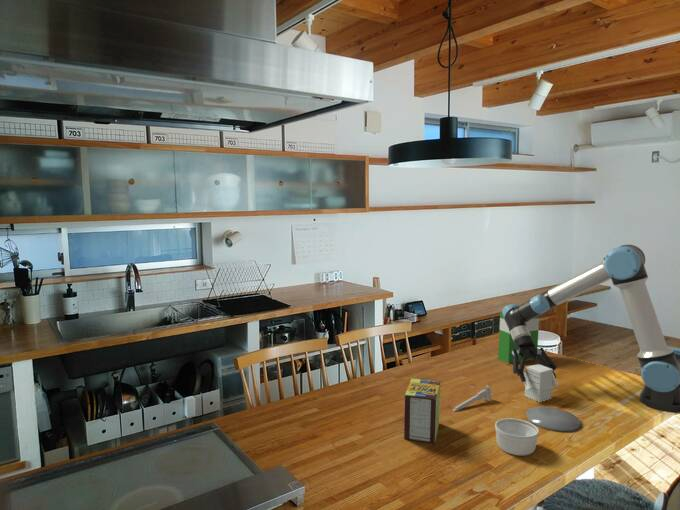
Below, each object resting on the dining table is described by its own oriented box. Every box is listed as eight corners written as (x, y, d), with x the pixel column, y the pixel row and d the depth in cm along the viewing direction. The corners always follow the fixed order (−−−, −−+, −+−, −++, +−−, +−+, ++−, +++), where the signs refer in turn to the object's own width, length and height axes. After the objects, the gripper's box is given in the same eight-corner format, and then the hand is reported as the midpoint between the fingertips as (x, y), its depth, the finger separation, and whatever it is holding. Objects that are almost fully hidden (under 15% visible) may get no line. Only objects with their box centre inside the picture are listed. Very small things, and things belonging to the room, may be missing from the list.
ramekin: (503, 433, 166) (504, 414, 165) (543, 446, 158) (544, 425, 157) (487, 448, 156) (488, 428, 155) (529, 463, 147) (530, 441, 147)
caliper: (488, 399, 194) (489, 384, 194) (490, 400, 193) (491, 385, 193) (452, 411, 183) (452, 395, 182) (454, 412, 182) (454, 396, 182)
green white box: (526, 355, 249) (528, 309, 246) (536, 359, 242) (539, 312, 240) (498, 358, 243) (500, 311, 240) (508, 363, 236) (510, 315, 233)
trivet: (585, 418, 178) (585, 415, 178) (573, 437, 164) (573, 434, 163) (534, 405, 189) (534, 402, 188) (519, 421, 174) (519, 419, 174)
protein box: (439, 423, 173) (440, 381, 171) (435, 444, 158) (436, 398, 157) (410, 419, 176) (411, 377, 174) (403, 439, 161) (404, 394, 159)
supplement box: (536, 393, 200) (538, 363, 199) (551, 399, 194) (553, 369, 193) (523, 396, 197) (525, 366, 196) (539, 403, 191) (540, 372, 189)
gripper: (542, 341, 211) (564, 389, 198) (493, 344, 206) (511, 394, 193) (551, 332, 205) (573, 381, 192) (500, 335, 200) (520, 386, 187)
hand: (542, 388), depth 192 cm, fingers open, 11 cm apart
